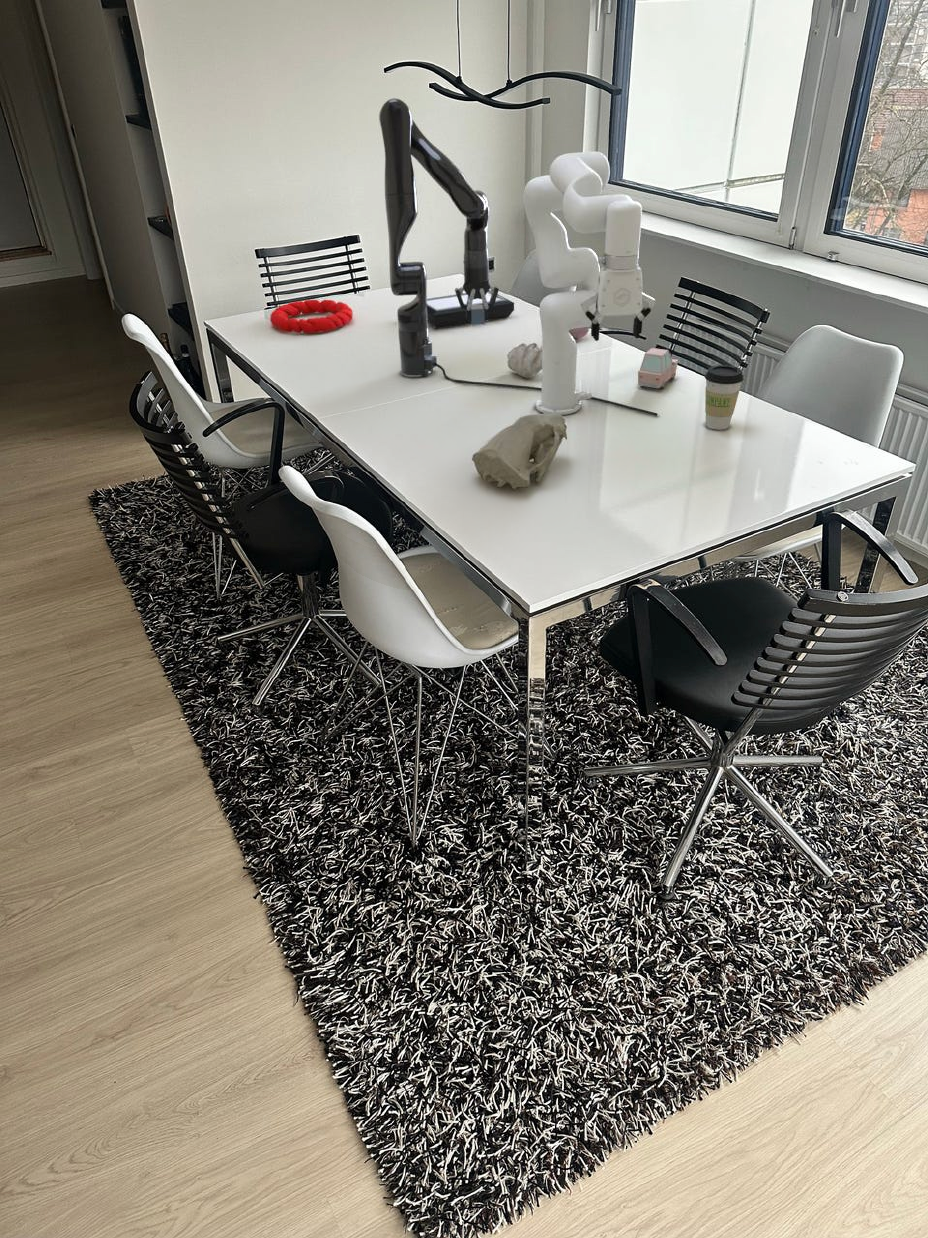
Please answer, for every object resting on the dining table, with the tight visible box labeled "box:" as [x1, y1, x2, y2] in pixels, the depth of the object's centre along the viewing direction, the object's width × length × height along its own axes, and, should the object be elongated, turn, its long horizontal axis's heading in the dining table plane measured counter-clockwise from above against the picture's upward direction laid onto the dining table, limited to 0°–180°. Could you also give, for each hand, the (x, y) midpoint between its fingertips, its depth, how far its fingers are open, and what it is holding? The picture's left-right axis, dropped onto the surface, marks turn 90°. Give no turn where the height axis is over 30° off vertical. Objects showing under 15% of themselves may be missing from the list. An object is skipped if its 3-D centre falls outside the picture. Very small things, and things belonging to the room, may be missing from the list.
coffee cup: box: [704, 364, 745, 431], centre depth 235 cm, size 10×10×15 cm
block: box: [470, 305, 486, 326], centre depth 278 cm, size 5×4×5 cm
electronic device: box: [427, 289, 515, 330], centre depth 327 cm, size 32×6×20 cm
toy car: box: [637, 347, 679, 389], centre depth 265 cm, size 9×15×10 cm, turn 149°
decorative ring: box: [269, 299, 354, 334], centre depth 328 cm, size 7×30×30 cm
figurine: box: [569, 327, 590, 340], centre depth 302 cm, size 9×11×12 cm
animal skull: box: [471, 412, 568, 490], centre depth 215 cm, size 17×25×20 cm
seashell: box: [506, 342, 542, 379], centre depth 273 cm, size 10×15×10 cm
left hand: (477, 320), depth 279 cm, fingers closed on block, 4 cm apart
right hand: (615, 337), depth 210 cm, fingers open, 9 cm apart
